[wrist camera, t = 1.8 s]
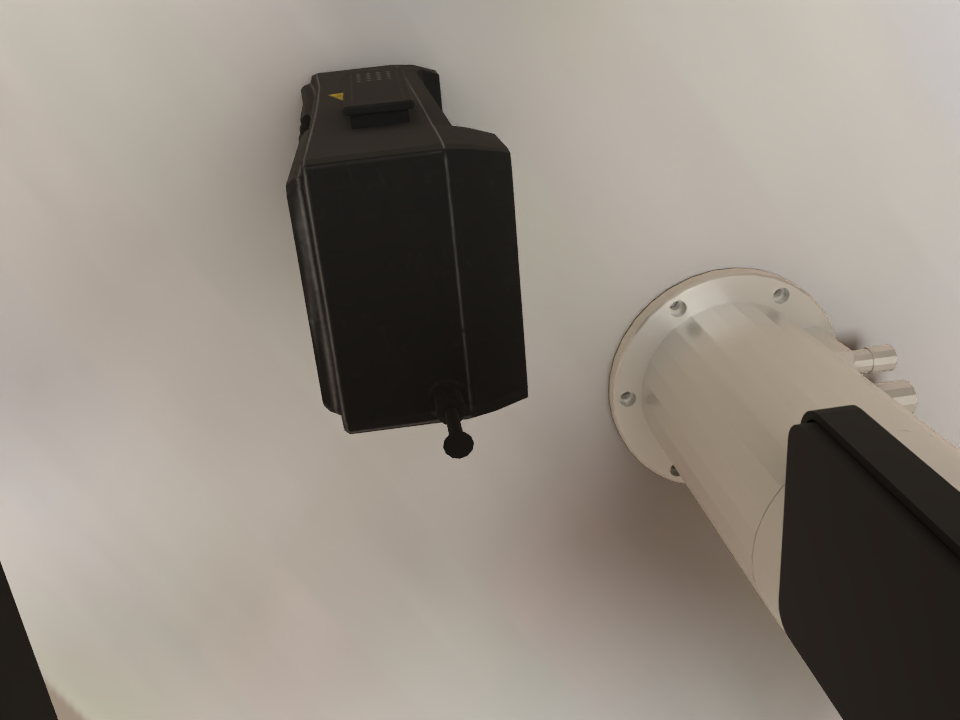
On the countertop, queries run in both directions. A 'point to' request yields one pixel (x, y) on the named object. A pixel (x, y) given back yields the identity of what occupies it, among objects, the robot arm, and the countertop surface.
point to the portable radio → (406, 255)
